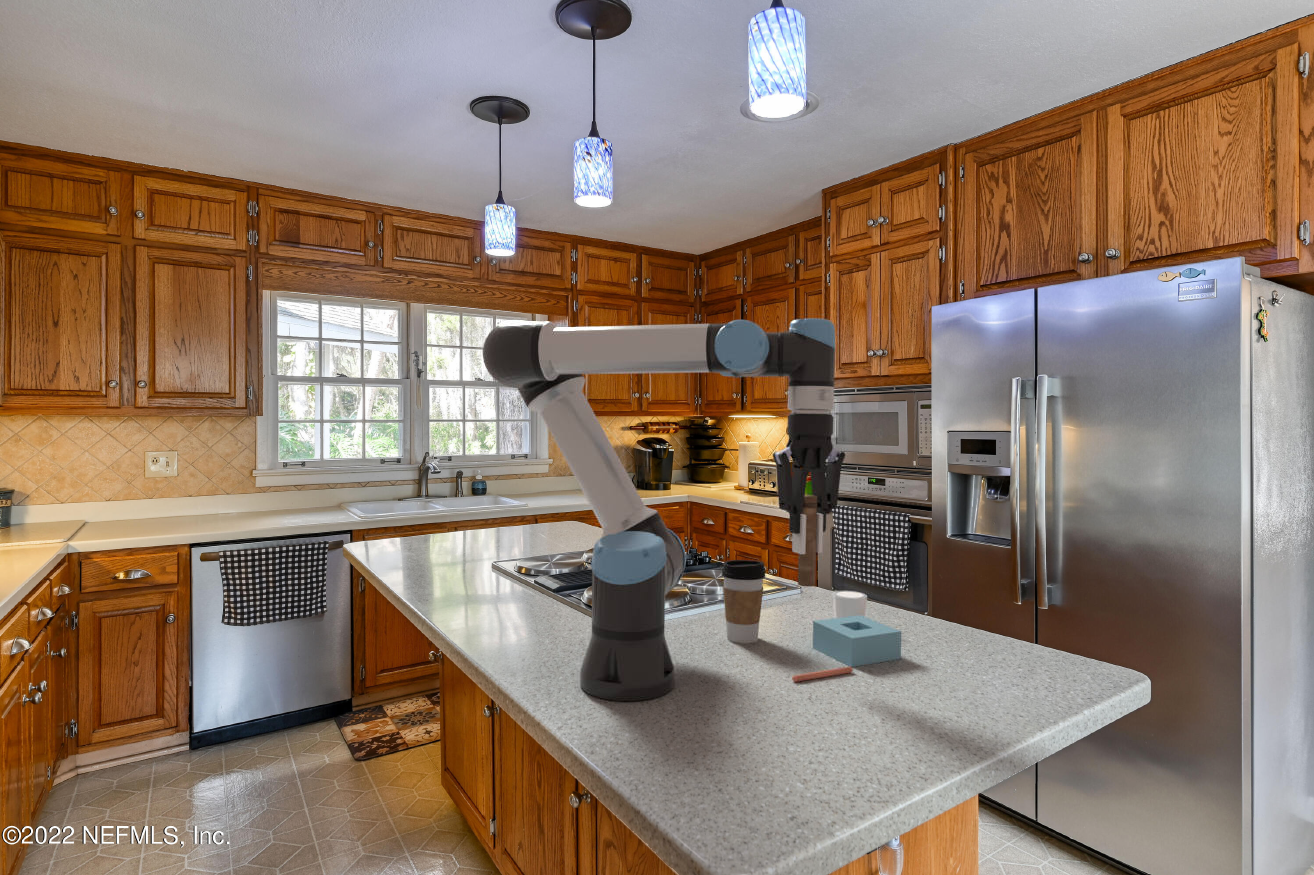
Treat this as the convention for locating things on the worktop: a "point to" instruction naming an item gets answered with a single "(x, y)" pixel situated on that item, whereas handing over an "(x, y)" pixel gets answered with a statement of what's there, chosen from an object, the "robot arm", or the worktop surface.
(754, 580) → the coffee cup
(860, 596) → the white cylinder
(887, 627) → the blue square hole block
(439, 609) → the worktop surface
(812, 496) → the round wooden peg
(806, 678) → the salmon red rod
